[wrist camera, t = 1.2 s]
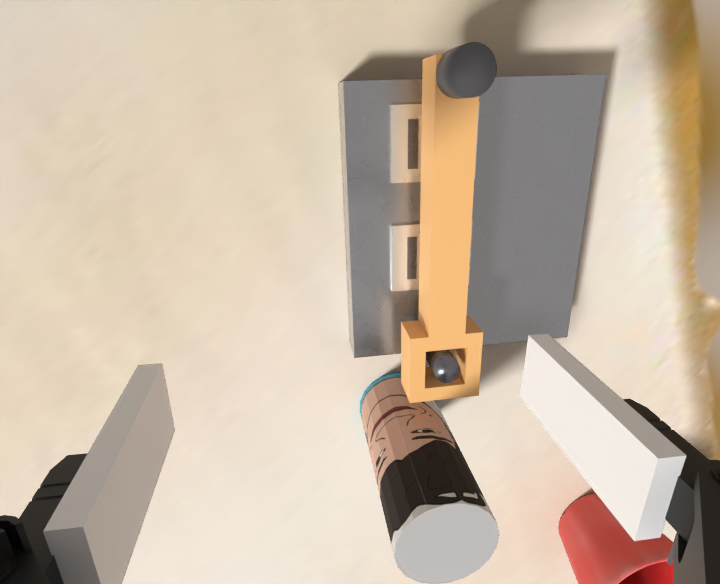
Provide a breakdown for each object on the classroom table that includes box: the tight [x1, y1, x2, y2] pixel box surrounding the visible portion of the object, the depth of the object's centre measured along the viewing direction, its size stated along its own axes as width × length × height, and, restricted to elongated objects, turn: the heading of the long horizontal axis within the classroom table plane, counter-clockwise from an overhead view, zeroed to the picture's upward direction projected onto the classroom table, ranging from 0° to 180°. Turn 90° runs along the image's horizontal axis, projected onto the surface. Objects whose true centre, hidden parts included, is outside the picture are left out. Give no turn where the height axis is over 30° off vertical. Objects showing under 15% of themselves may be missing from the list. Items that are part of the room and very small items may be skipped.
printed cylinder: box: [360, 373, 499, 584], centre depth 36 cm, size 7×7×15 cm
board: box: [338, 74, 606, 383], centre depth 33 cm, size 20×18×8 cm
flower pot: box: [559, 493, 674, 584], centre depth 48 cm, size 11×11×10 cm
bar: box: [401, 42, 497, 403], centre depth 30 cm, size 23×5×5 cm, turn 2°
